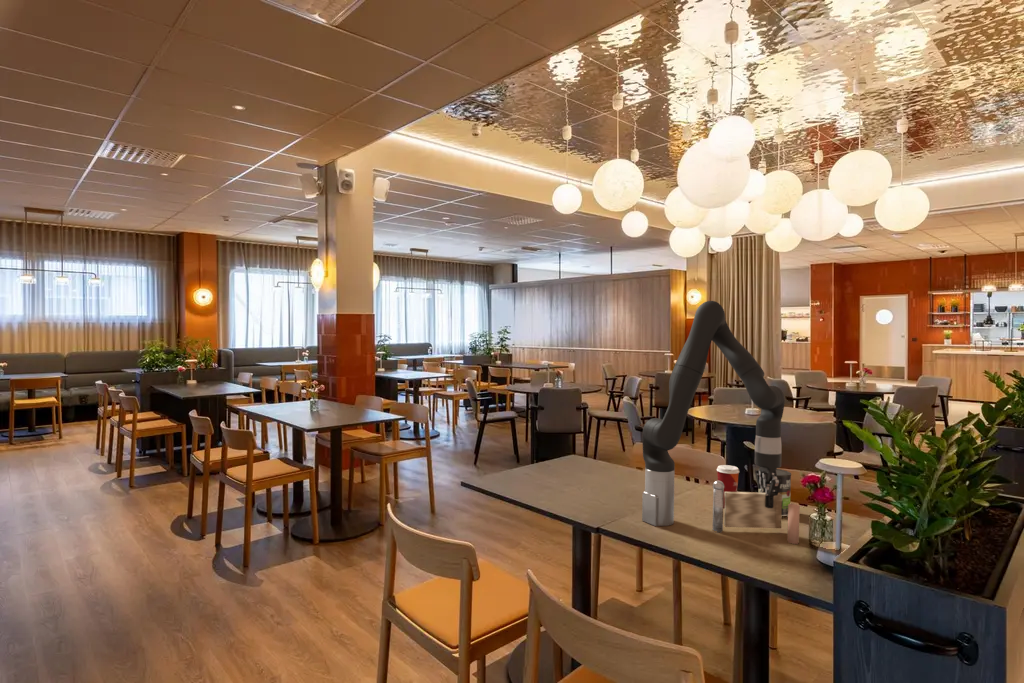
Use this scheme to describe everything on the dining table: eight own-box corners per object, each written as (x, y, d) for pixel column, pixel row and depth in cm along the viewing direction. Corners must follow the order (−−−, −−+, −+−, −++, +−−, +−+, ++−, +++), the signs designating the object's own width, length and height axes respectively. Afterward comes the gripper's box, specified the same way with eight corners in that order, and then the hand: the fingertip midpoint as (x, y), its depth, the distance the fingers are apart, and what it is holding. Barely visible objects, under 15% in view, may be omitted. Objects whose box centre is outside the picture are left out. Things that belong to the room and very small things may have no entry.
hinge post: (718, 533, 172) (719, 482, 171) (709, 529, 175) (710, 479, 174) (725, 531, 173) (726, 481, 173) (716, 528, 176) (717, 478, 176)
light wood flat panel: (726, 527, 173) (726, 493, 173) (723, 525, 175) (724, 491, 175) (781, 528, 172) (782, 494, 172) (778, 526, 174) (779, 492, 174)
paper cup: (740, 510, 194) (741, 470, 194) (717, 509, 195) (718, 469, 195) (736, 503, 202) (737, 465, 201) (714, 502, 203) (714, 463, 203)
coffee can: (796, 513, 191) (797, 472, 191) (780, 519, 185) (781, 477, 185) (767, 505, 200) (768, 466, 199) (751, 510, 194) (752, 470, 193)
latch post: (794, 544, 163) (795, 507, 163) (785, 541, 166) (786, 504, 165) (801, 542, 165) (801, 505, 164) (791, 539, 167) (792, 503, 167)
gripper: (791, 455, 166) (790, 513, 166) (770, 446, 180) (769, 499, 180) (765, 455, 166) (764, 513, 166) (746, 446, 180) (746, 499, 180)
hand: (767, 506), depth 173 cm, fingers closed on light wood flat panel, 2 cm apart
